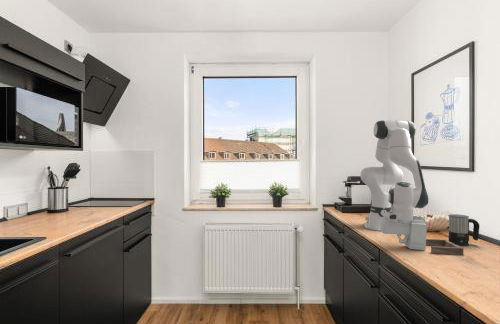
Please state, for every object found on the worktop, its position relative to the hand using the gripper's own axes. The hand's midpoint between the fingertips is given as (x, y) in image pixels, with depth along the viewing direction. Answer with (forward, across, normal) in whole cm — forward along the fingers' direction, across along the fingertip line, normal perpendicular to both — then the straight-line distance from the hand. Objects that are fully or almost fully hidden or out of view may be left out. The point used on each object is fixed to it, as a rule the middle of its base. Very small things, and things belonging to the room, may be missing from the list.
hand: (402, 243), depth 154 cm
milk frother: (+2, -35, -18) cm, 39 cm away
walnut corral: (+2, -17, 0) cm, 17 cm away
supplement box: (+2, -6, 0) cm, 6 cm away
